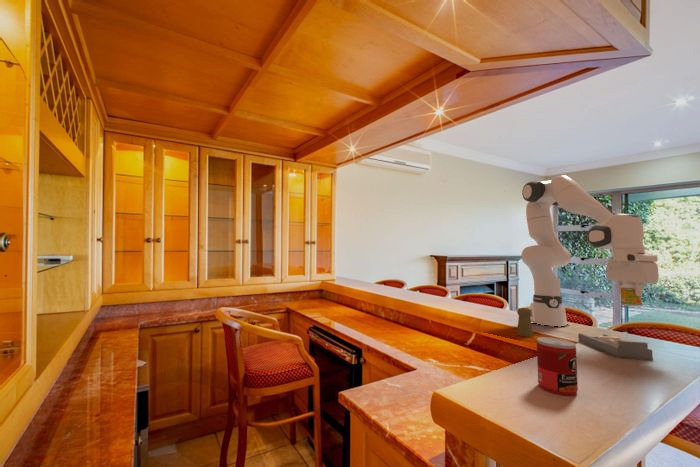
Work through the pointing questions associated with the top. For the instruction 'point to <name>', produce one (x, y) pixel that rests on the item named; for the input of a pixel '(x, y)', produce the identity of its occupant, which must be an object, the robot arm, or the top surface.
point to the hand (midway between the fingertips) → (630, 294)
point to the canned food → (557, 366)
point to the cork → (524, 323)
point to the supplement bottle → (629, 295)
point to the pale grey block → (609, 340)
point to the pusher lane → (623, 351)
